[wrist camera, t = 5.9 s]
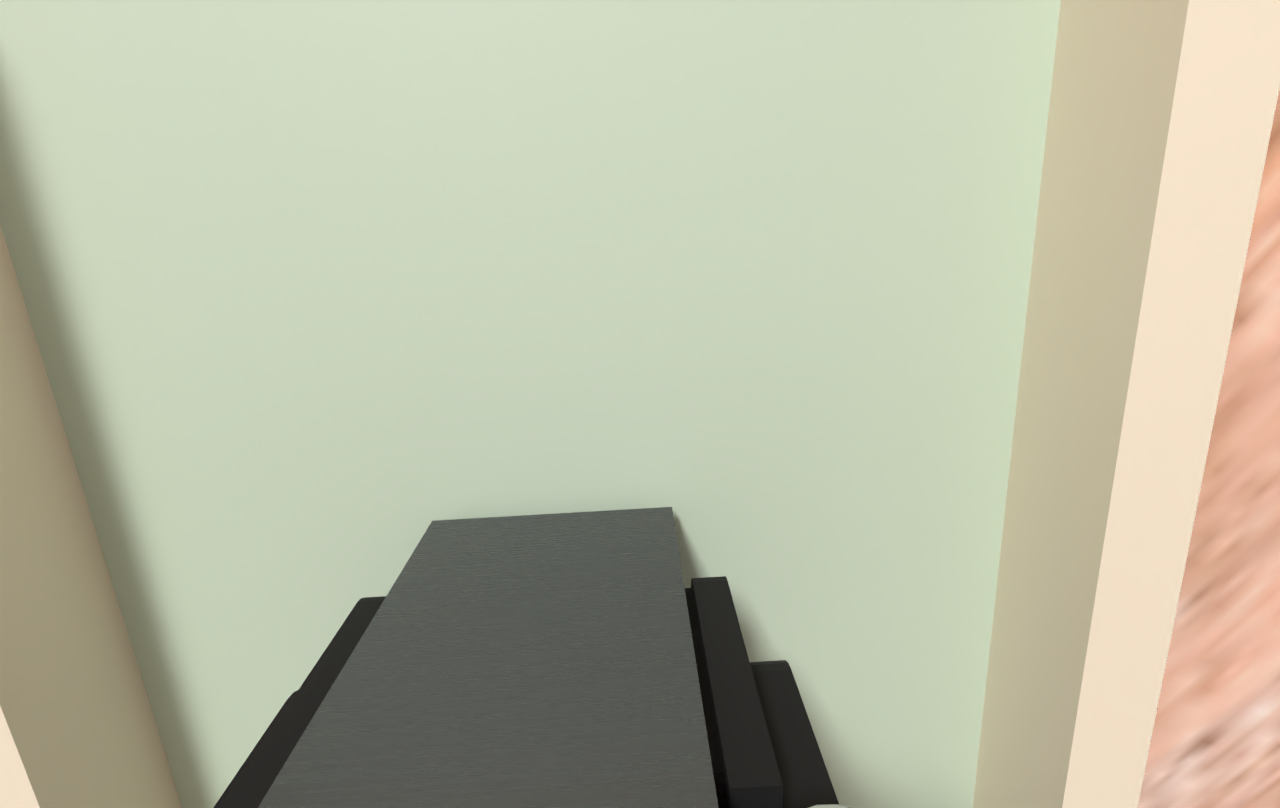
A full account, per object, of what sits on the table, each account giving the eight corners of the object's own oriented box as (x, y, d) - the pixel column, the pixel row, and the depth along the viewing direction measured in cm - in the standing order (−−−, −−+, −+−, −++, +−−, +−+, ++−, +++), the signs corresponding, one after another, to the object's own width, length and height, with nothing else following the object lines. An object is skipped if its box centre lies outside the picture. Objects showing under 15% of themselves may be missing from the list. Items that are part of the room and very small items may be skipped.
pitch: (1119, -154, 10) (1361, -330, 7) (965, 1086, 18) (1042, 1288, 14) (-121, -88, 10) (-491, -233, 7) (270, 1130, 17) (188, 1342, 14)
